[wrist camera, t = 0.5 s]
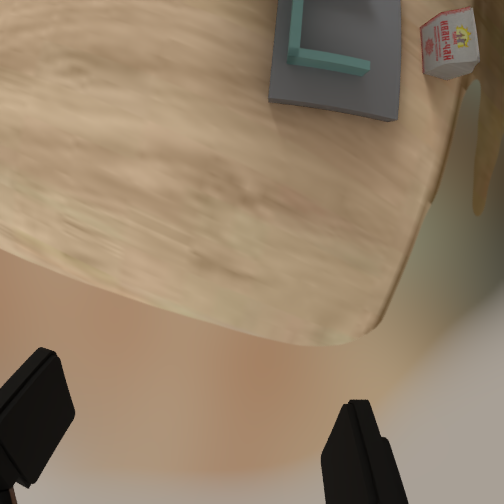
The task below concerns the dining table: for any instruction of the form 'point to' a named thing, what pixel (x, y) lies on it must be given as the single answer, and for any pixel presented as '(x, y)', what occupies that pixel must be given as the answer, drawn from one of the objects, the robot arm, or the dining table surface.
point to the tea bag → (450, 44)
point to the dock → (338, 56)
